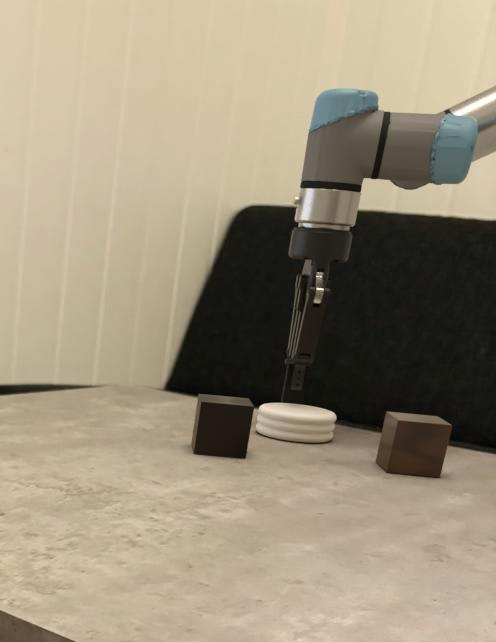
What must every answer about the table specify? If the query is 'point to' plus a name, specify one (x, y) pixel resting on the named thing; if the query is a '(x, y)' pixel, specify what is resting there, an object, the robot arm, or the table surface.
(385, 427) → the dark brown wooden cube
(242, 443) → the dark brown cube
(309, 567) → the table surface
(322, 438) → the white stacked disc
